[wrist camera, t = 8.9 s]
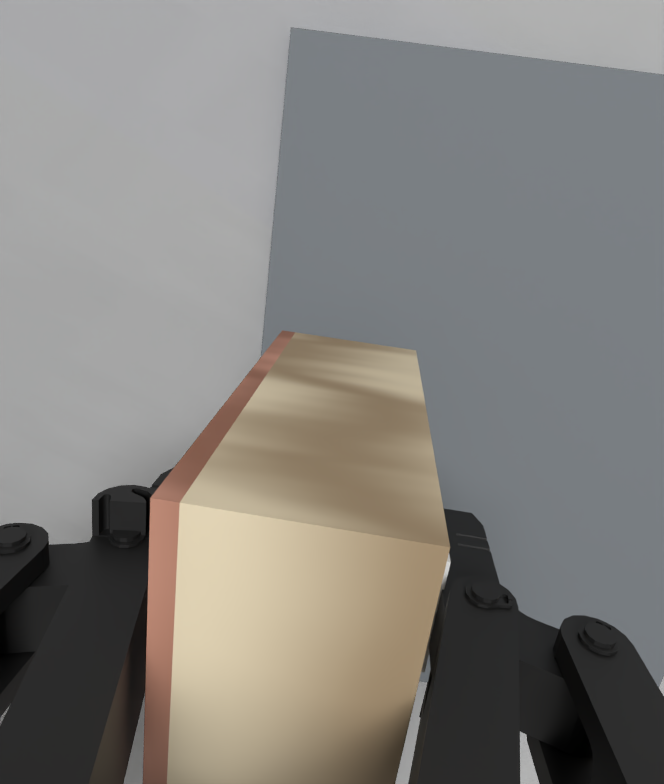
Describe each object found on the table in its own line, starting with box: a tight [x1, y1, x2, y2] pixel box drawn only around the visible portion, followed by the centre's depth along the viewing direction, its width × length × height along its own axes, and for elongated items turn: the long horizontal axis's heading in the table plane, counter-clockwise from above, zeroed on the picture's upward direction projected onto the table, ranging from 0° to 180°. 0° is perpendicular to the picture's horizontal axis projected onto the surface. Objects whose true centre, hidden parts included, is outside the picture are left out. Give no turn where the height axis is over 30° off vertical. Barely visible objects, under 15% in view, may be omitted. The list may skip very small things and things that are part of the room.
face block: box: [143, 330, 450, 784], centre depth 13 cm, size 4×7×10 cm, turn 173°
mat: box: [261, 27, 664, 688], centre depth 21 cm, size 18×24×1 cm
